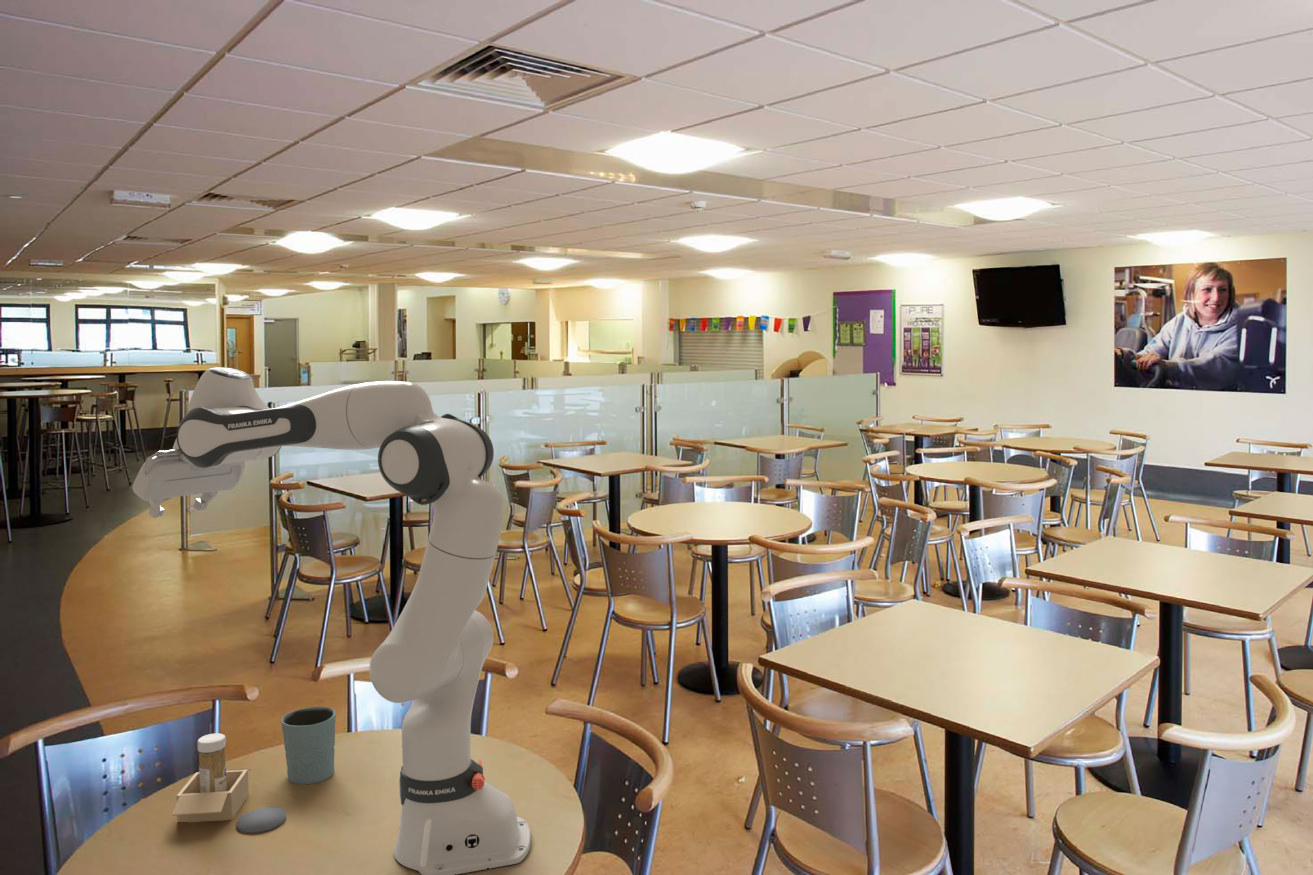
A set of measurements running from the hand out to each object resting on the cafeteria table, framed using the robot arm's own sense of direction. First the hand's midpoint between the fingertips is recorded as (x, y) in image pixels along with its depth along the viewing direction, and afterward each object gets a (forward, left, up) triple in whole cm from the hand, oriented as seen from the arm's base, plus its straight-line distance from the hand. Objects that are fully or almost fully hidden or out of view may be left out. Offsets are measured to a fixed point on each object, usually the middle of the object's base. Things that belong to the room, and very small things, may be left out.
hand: (177, 512), depth 165 cm
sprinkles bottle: (-7, +8, -54) cm, 55 cm away
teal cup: (-21, -4, -54) cm, 58 cm away
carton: (-7, +8, -54) cm, 55 cm away
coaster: (-17, +14, -54) cm, 58 cm away
